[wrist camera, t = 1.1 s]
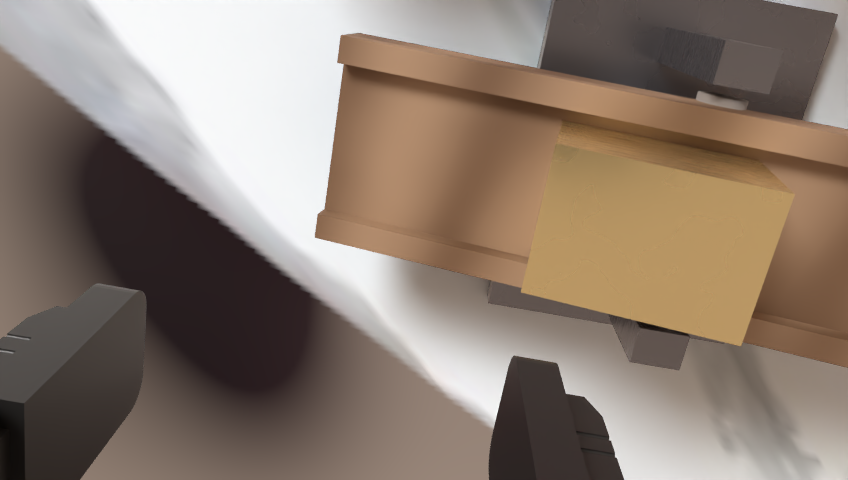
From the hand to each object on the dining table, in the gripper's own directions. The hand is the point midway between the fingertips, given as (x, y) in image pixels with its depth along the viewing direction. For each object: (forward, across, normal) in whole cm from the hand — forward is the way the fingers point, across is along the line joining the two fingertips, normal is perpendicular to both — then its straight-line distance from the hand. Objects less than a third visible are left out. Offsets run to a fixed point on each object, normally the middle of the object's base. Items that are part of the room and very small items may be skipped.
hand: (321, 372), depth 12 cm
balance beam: (+20, -12, 0) cm, 23 cm away
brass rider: (+16, -9, 0) cm, 18 cm away
